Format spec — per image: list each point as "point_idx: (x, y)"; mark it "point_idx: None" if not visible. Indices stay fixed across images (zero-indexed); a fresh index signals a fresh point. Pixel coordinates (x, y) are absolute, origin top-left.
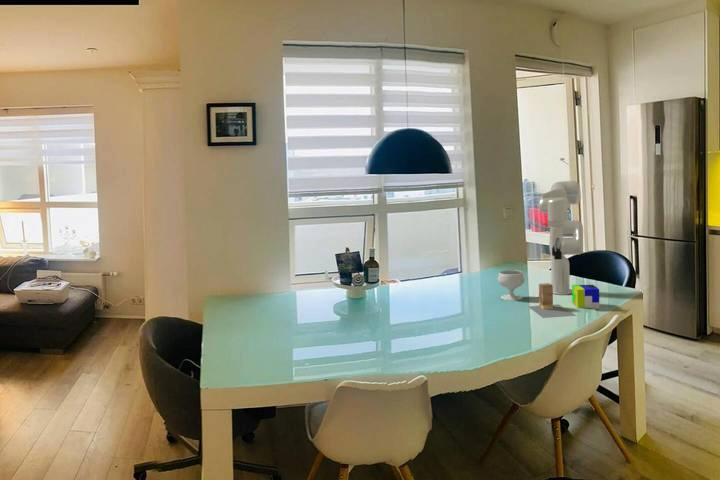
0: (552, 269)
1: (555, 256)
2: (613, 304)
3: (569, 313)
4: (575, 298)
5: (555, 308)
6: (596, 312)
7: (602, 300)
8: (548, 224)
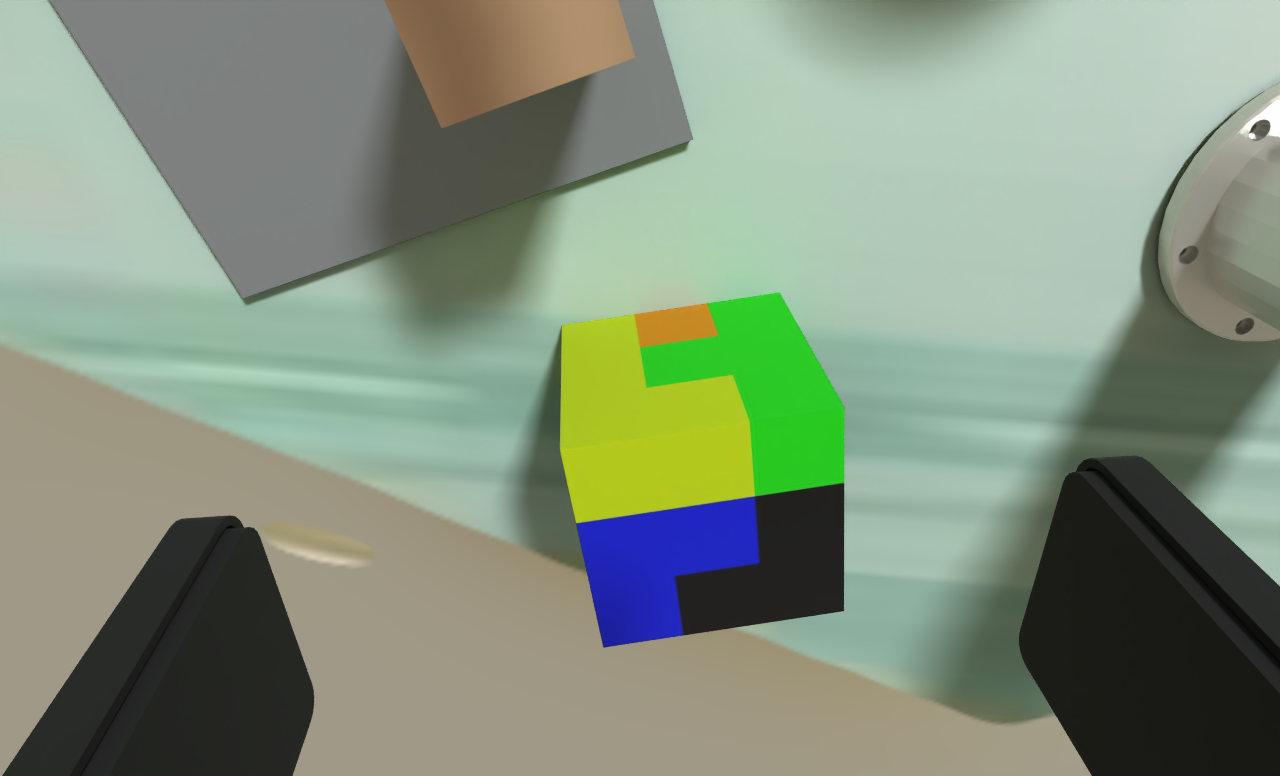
0: None
1: (126, 643)
2: None
3: (307, 233)
4: (652, 359)
5: None
6: (466, 467)
7: (884, 542)
8: None
